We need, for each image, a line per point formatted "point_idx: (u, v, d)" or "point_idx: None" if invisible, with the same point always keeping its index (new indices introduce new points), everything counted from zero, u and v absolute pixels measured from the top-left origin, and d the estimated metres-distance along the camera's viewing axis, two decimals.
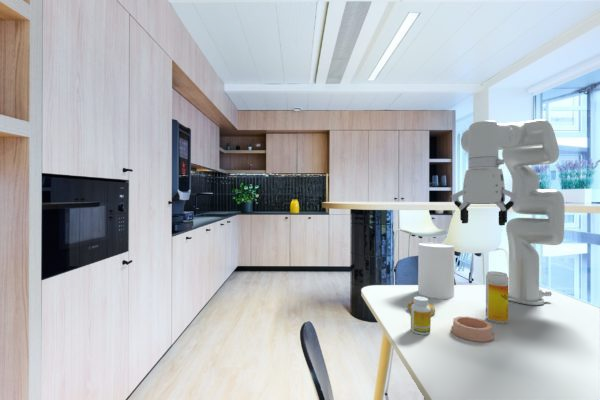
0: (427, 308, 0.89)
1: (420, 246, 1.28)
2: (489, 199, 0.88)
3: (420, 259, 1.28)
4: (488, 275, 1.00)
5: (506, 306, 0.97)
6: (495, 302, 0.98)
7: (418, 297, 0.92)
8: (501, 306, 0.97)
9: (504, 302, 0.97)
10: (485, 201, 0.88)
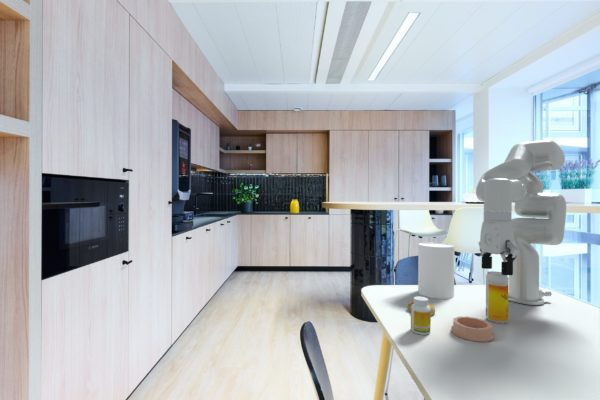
0: (427, 308, 0.89)
1: (420, 246, 1.28)
2: None
3: (420, 259, 1.28)
4: (488, 275, 1.00)
5: (506, 306, 0.97)
6: (495, 302, 0.98)
7: (418, 297, 0.92)
8: (501, 306, 0.97)
9: (504, 302, 0.97)
10: None
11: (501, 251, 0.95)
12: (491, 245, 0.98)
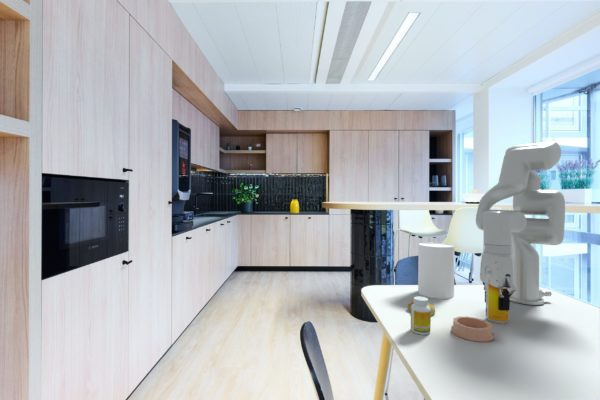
0: (427, 308, 0.89)
1: (420, 246, 1.28)
2: None
3: (420, 259, 1.28)
4: (488, 275, 1.00)
5: None
6: (495, 302, 0.98)
7: (418, 297, 0.92)
8: None
9: None
10: None
11: (501, 285, 0.95)
12: (491, 278, 0.98)
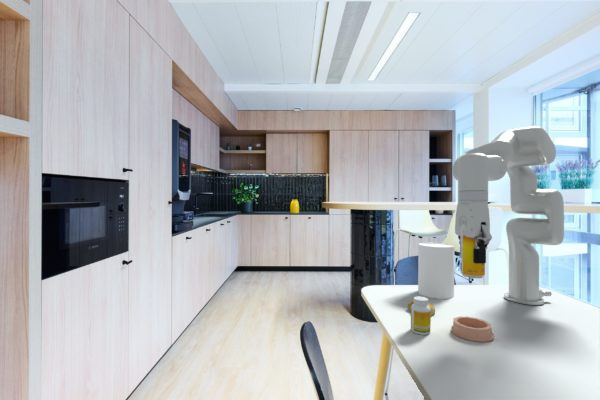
0: (427, 308, 0.89)
1: (420, 246, 1.28)
2: None
3: (420, 259, 1.28)
4: (463, 226, 0.89)
5: None
6: (469, 254, 0.87)
7: (418, 297, 0.92)
8: None
9: None
10: None
11: (476, 234, 0.85)
12: (466, 228, 0.88)
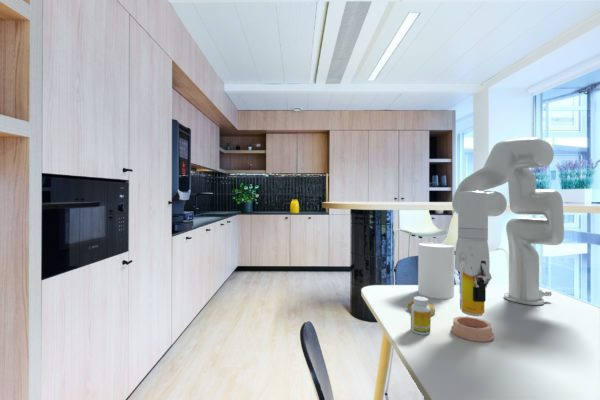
0: (427, 308, 0.89)
1: (420, 246, 1.28)
2: None
3: (420, 259, 1.28)
4: (462, 262, 0.89)
5: None
6: (469, 292, 0.87)
7: (418, 297, 0.92)
8: None
9: None
10: None
11: (476, 273, 0.85)
12: (465, 266, 0.88)
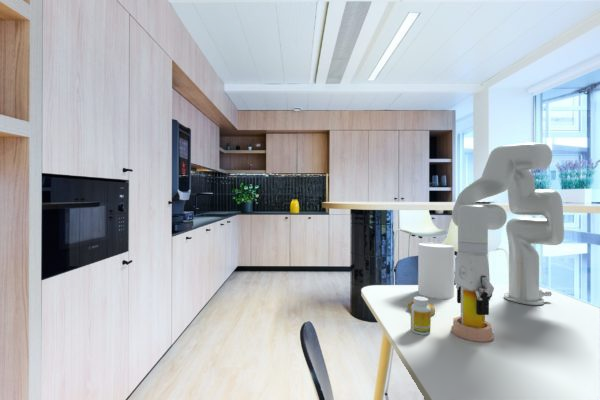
0: (427, 308, 0.89)
1: (420, 246, 1.28)
2: None
3: (420, 259, 1.28)
4: None
5: None
6: (470, 310, 0.88)
7: (418, 297, 0.92)
8: (477, 315, 0.87)
9: None
10: None
11: (476, 288, 0.85)
12: (465, 280, 0.88)
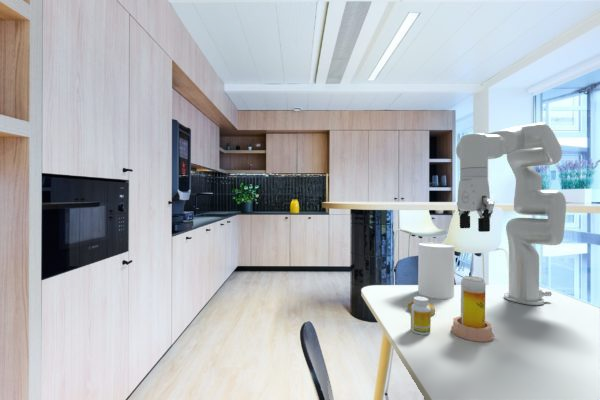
0: (427, 308, 0.89)
1: (420, 246, 1.28)
2: None
3: (420, 259, 1.28)
4: (463, 280, 0.89)
5: (482, 315, 0.87)
6: (470, 311, 0.87)
7: (418, 297, 0.92)
8: (477, 316, 0.87)
9: (480, 311, 0.87)
10: None
11: (477, 207, 0.92)
12: (468, 202, 0.96)
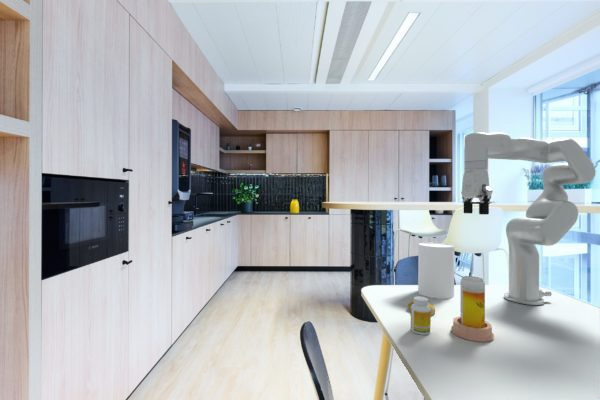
0: (427, 308, 0.89)
1: (420, 246, 1.28)
2: None
3: (420, 259, 1.28)
4: (462, 280, 0.90)
5: (482, 315, 0.87)
6: (469, 311, 0.87)
7: (418, 297, 0.92)
8: (476, 316, 0.87)
9: (479, 311, 0.87)
10: None
11: (478, 194, 1.10)
12: (470, 190, 1.13)
